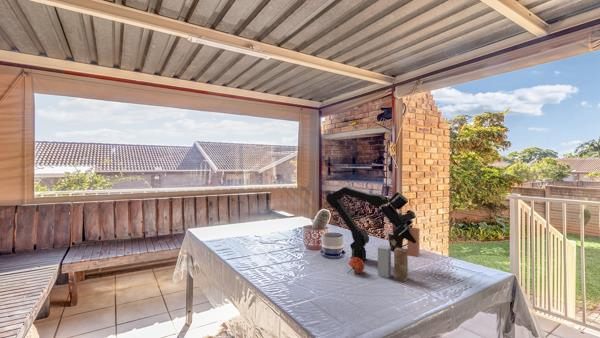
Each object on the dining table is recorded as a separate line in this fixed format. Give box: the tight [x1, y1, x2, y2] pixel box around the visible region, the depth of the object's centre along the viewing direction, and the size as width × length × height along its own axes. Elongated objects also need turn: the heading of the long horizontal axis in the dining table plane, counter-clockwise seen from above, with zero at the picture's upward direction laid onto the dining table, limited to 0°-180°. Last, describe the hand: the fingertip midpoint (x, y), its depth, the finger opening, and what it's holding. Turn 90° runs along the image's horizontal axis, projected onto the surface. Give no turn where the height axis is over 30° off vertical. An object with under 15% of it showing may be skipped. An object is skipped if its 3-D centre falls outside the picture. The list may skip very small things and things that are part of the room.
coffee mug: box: [387, 231, 407, 253], centre depth 160 cm, size 12×9×10 cm
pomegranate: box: [347, 257, 365, 275], centre depth 127 cm, size 7×7×10 cm
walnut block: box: [393, 247, 409, 282], centre depth 120 cm, size 4×4×12 cm
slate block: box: [377, 244, 392, 279], centre depth 124 cm, size 4×4×12 cm
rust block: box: [406, 227, 421, 258], centre depth 131 cm, size 4×4×12 cm
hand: (416, 241), depth 130 cm, fingers closed on rust block, 4 cm apart
